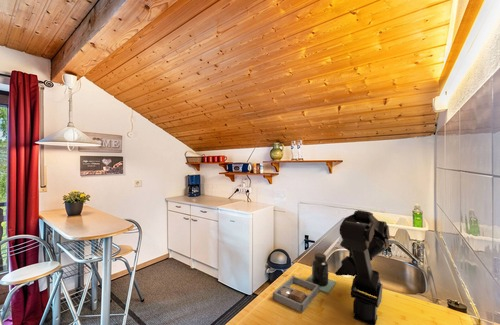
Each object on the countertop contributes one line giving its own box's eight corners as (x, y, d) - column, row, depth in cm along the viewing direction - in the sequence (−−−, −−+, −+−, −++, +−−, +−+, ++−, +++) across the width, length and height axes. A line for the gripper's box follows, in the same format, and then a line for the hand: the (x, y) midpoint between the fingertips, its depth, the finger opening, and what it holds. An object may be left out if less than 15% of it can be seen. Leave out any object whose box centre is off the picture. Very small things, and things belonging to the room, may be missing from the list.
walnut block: (304, 303, 83) (305, 292, 83) (300, 308, 80) (300, 297, 80) (295, 299, 86) (295, 288, 86) (290, 304, 83) (290, 293, 83)
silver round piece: (292, 298, 86) (292, 290, 86) (287, 303, 83) (288, 295, 83) (283, 294, 89) (283, 286, 89) (278, 298, 86) (278, 291, 86)
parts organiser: (319, 291, 91) (319, 285, 91) (302, 312, 78) (302, 305, 78) (292, 281, 98) (292, 275, 98) (272, 299, 85) (273, 292, 85)
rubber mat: (336, 282, 98) (336, 281, 98) (328, 294, 89) (328, 292, 89) (312, 274, 105) (312, 273, 105) (302, 284, 96) (302, 283, 96)
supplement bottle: (326, 279, 100) (326, 252, 100) (329, 287, 93) (330, 258, 93) (310, 277, 101) (311, 251, 101) (313, 286, 94) (313, 257, 94)
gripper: (358, 227, 97) (332, 246, 103) (347, 237, 82) (317, 259, 88) (378, 249, 92) (349, 268, 98) (371, 265, 77) (338, 286, 83)
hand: (339, 269), depth 92 cm, fingers open, 9 cm apart
